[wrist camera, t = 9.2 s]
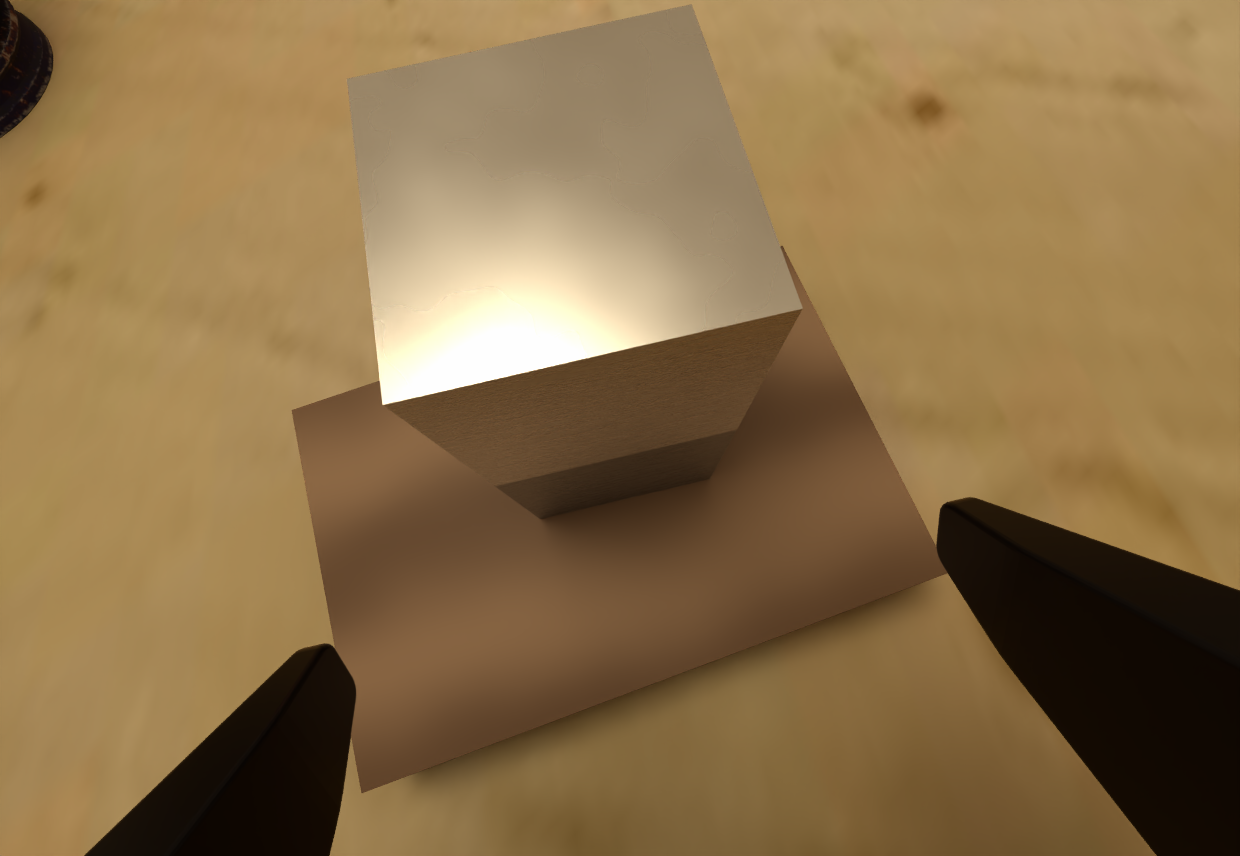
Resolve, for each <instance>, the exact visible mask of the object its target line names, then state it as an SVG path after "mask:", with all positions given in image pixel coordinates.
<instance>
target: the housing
mask: <svg viewBox="0 0 1240 856" xmlns="http://www.w3.org/2000/svg"><path fill="white" fill-rule="evenodd" d="M347 84H348V93H349V102H350V111H351V120H352V129H353V138H354V148H355V157H356V166H357V175H358V184H359V193H360V202H361V212H362V221H363V230H364V239H365V248H366V257H367V267H368V276H369V285H370V294H371V303H372V312H373V321H374V331H375V340H376V349H377V358H378V367H379V376H380V385H381V395H382V404H383V406H385V407H386V408H387V409H389V410H390V411H392V412H393V413H394V414H396V415H397V416H399V417H400V418H401V419H403V420H404V421H405V422H407V423H408V424H410V425H411V426H412V427H414V428H415V429H416V430H418V431H419V432H421V433H422V434H423V435H425V436H426V437H428V438H429V439H430V440H432V441H433V442H434V443H436V444H437V445H439V446H440V447H441V448H443V449H444V450H445V451H447V452H448V453H450V454H451V455H452V456H454V457H455V458H457V459H458V460H459V461H461V462H462V463H463V464H465V465H466V466H468V467H469V468H470V469H472V470H473V471H474V472H476V473H477V474H479V475H480V476H481V477H483V478H484V479H486V480H487V481H488V482H490V483H491V484H492V485H494V486H495V487H497V488H498V489H499V490H501V491H502V492H503V493H505V494H506V495H508V496H509V497H510V498H512V499H513V500H515V501H516V502H517V503H519V504H520V505H521V506H523V507H524V508H526V509H527V510H528V511H530V512H531V513H532V514H534V515H535V516H537V517H538V518H539V519H543V518H547V517H551V516H556V515H560V514H564V513H568V512H573V511H577V510H581V509H585V508H590V507H594V506H598V505H602V504H607V503H611V502H615V501H619V500H624V499H628V498H632V497H636V496H641V495H645V494H649V493H653V492H658V491H662V490H666V489H670V488H674V487H679V486H683V485H687V484H691V483H696V482H700V481H704V480H708V479H710V478H711V476H712V474H713V473H714V471H715V469H716V467H717V465H718V463H719V462H720V460H721V458H722V456H723V454H724V452H725V451H726V449H727V447H728V445H729V443H730V441H731V440H732V438H733V436H734V434H735V432H736V430H737V429H738V427H739V425H740V423H741V421H742V419H743V418H744V416H745V414H746V412H747V410H748V408H749V406H750V405H751V403H752V401H753V399H754V397H755V395H756V394H757V392H758V390H759V388H760V386H761V384H762V383H763V381H764V379H765V377H766V375H767V373H768V372H769V370H770V368H771V366H772V364H773V362H774V361H775V359H776V357H777V355H778V353H779V351H780V350H781V348H782V346H783V344H784V342H785V340H786V339H787V337H788V335H789V333H790V331H791V329H792V327H793V326H794V324H795V322H796V320H797V318H798V316H799V315H800V313H801V311H802V309H803V308H802V305H801V302H800V299H799V297H798V294H797V291H796V289H795V286H794V283H793V280H792V278H791V275H790V272H789V269H788V267H787V264H786V261H785V258H784V256H783V253H782V250H781V248H780V245H779V242H778V239H777V237H776V234H775V231H774V228H773V226H772V223H771V220H770V217H769V215H768V212H767V209H766V206H765V204H764V201H763V198H762V196H761V193H760V190H759V187H758V185H757V182H756V179H755V176H754V174H753V171H752V168H751V165H750V163H749V160H748V157H747V154H746V152H745V149H744V146H743V144H742V141H741V138H740V135H739V133H738V130H737V127H736V124H735V122H734V119H733V116H732V113H731V111H730V108H729V105H728V103H727V100H726V97H725V94H724V92H723V89H722V86H721V83H720V81H719V78H718V75H717V72H716V70H715V67H714V64H713V61H712V59H711V56H710V53H709V51H708V48H707V45H706V42H705V40H704V37H703V34H702V31H701V29H700V26H699V23H698V20H697V18H696V15H695V12H694V10H693V7H692V4H691V5H686V6H682V7H677V8H672V9H668V10H663V11H659V12H654V13H649V14H645V15H640V16H635V17H631V18H626V19H622V20H617V21H612V22H608V23H603V24H598V25H594V26H589V27H584V28H580V29H575V30H571V31H566V32H561V33H557V34H552V35H547V36H543V37H538V38H534V39H529V40H524V41H520V42H515V43H510V44H506V45H501V46H497V47H492V48H487V49H483V50H478V51H473V52H469V53H464V54H460V55H455V56H450V57H446V58H441V59H436V60H432V61H427V62H423V63H418V64H413V65H409V66H404V67H399V68H395V69H390V70H386V71H381V72H376V73H372V74H367V75H362V76H358V77H353V78H348V79H347Z"/></svg>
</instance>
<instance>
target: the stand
mask: <svg viewBox="0 0 1240 856" xmlns="http://www.w3.org/2000/svg"><path fill="white" fill-rule="evenodd" d="M780 248H781V250H782V253H783V256H784V258H785V261H786V264H787V267H788V269H789V272H790V275H791V278H792V280H793V283H794V286H795V289H796V291H797V294H798V297H799V299H800V302H801V305H802V308H803V309H802V311H801V313H800V315H799V316H798V318H797V320H796V322H795V324H794V326H793V327H792V329H791V331H790V333H789V335H788V337H787V339H786V340H785V342H784V344H783V346H782V348H781V350H780V351H779V353H778V355H777V357H776V359H775V361H774V362H773V364H772V366H771V368H770V370H769V372H768V373H767V375H766V377H765V379H764V381H763V383H762V384H761V386H760V388H759V390H758V392H757V394H756V395H755V397H754V399H753V401H752V403H751V405H750V406H749V408H748V410H747V412H746V414H745V416H744V418H743V419H742V421H741V423H740V425H739V427H738V429H737V430H736V432H735V434H734V436H733V438H732V440H731V441H730V443H729V445H728V447H727V449H726V451H725V452H724V454H723V456H722V458H721V460H720V462H719V463H718V465H717V467H716V469H715V471H714V473H713V474H712V476H711V478H710V479H708V480H704V481H700V482H696V483H691V484H687V485H683V486H679V487H674V488H670V489H666V490H662V491H658V492H653V493H649V494H645V495H641V496H636V497H632V498H628V499H624V500H619V501H615V502H611V503H607V504H602V505H598V506H594V507H590V508H585V509H581V510H577V511H573V512H568V513H564V514H560V515H556V516H551V517H547V518H543V519H539V518H538V517H537V516H535V515H534V514H532V513H531V512H530V511H528V510H527V509H526V508H524V507H523V506H521V505H520V504H519V503H517V502H516V501H515V500H513V499H512V498H510V497H509V496H508V495H506V494H505V493H503V492H502V491H501V490H499V489H498V488H497V487H495V486H494V485H492V484H491V483H490V482H488V481H487V480H486V479H484V478H483V477H481V476H480V475H479V474H477V473H476V472H474V471H473V470H472V469H470V468H469V467H468V466H466V465H465V464H463V463H462V462H461V461H459V460H458V459H457V458H455V457H454V456H452V455H451V454H450V453H448V452H447V451H445V450H444V449H443V448H441V447H440V446H439V445H437V444H436V443H434V442H433V441H432V440H430V439H429V438H428V437H426V436H425V435H423V434H422V433H421V432H419V431H418V430H416V429H415V428H414V427H412V426H411V425H410V424H408V423H407V422H405V421H404V420H403V419H401V418H400V417H399V416H397V415H396V414H394V413H393V412H392V411H390V410H389V409H387V408H386V407H385V406H383V404H382V395H381V385H380V381H377V382H375V383H372V384H369V385H366V386H363V387H360V388H357V389H354V390H351V391H348V392H345V393H342V394H339V395H336V396H333V397H330V398H327V399H324V400H321V401H318V402H315V403H312V404H309V405H306V406H303V407H300V408H297V409H294V410H292V414H293V420H294V425H295V431H296V436H297V442H298V447H299V453H300V458H301V464H302V469H303V475H304V480H305V486H306V491H307V496H308V502H309V507H310V513H311V518H312V524H313V529H314V535H315V540H316V546H317V551H318V557H319V562H320V568H321V573H322V579H323V584H324V590H325V595H326V601H327V606H328V612H329V617H330V623H331V628H332V634H333V639H334V645H335V649H336V651H337V653H338V654H339V656H340V658H341V659H342V661H343V662H344V664H345V666H346V667H347V669H348V671H349V672H350V674H351V675H352V677H353V679H354V682H355V685H356V703H355V710H354V717H353V725H352V732H351V738H352V743H353V749H354V754H355V760H356V765H357V771H358V776H359V782H360V787H361V793H364V792H366V791H369V790H372V789H374V788H377V787H380V786H382V785H385V784H388V783H390V782H393V781H396V780H398V779H401V778H404V777H406V776H409V775H411V774H414V773H417V772H419V771H422V770H425V769H427V768H430V767H433V766H435V765H438V764H441V763H443V762H446V761H449V760H451V759H454V758H457V757H459V756H462V755H465V754H467V753H470V752H473V751H475V750H478V749H481V748H483V747H486V746H489V745H491V744H494V743H497V742H499V741H502V740H505V739H507V738H510V737H513V736H515V735H518V734H521V733H523V732H526V731H529V730H531V729H534V728H537V727H539V726H542V725H545V724H547V723H550V722H553V721H555V720H558V719H561V718H563V717H566V716H569V715H571V714H574V713H577V712H579V711H582V710H585V709H587V708H590V707H593V706H595V705H598V704H601V703H603V702H606V701H609V700H611V699H614V698H616V697H619V696H622V695H624V694H627V693H630V692H632V691H635V690H638V689H640V688H643V687H646V686H648V685H651V684H654V683H656V682H659V681H662V680H664V679H667V678H670V677H672V676H675V675H678V674H680V673H683V672H686V671H688V670H691V669H694V668H696V667H699V666H702V665H704V664H707V663H710V662H712V661H715V660H718V659H720V658H723V657H726V656H728V655H731V654H734V653H736V652H739V651H742V650H744V649H747V648H750V647H752V646H755V645H758V644H760V643H763V642H766V641H768V640H771V639H774V638H776V637H779V636H782V635H784V634H787V633H790V632H792V631H795V630H798V629H800V628H803V627H806V626H808V625H811V624H813V623H816V622H819V621H821V620H824V619H827V618H829V617H832V616H835V615H837V614H840V613H843V612H845V611H848V610H851V609H853V608H856V607H859V606H861V605H864V604H867V603H869V602H872V601H875V600H877V599H880V598H883V597H885V596H888V595H891V594H893V593H896V592H899V591H901V590H904V589H907V588H909V587H912V586H915V585H917V584H920V583H923V582H925V581H928V580H931V579H933V578H936V577H939V576H941V575H944V574H947V571H946V570H945V568H944V566H943V565H942V563H941V561H940V559H939V557H938V553H937V548H936V546H935V544H934V542H933V540H932V538H931V536H930V534H929V532H928V530H927V528H926V526H925V524H924V522H923V520H922V518H921V516H920V514H919V512H918V510H917V508H916V506H915V504H914V503H913V501H912V499H911V497H910V495H909V493H908V491H907V489H906V487H905V485H904V483H903V481H902V479H901V477H900V475H899V473H898V471H897V469H896V467H895V465H894V463H893V461H892V459H891V457H890V456H889V454H888V452H887V450H886V448H885V446H884V444H883V442H882V440H881V438H880V436H879V434H878V432H877V430H876V428H875V426H874V424H873V422H872V420H871V418H870V416H869V414H868V412H867V411H866V409H865V407H864V405H863V403H862V401H861V399H860V397H859V395H858V393H857V391H856V389H855V387H854V385H853V383H852V381H851V379H850V377H849V375H848V373H847V371H846V369H845V367H844V366H843V364H842V362H841V360H840V358H839V356H838V354H837V352H836V350H835V348H834V346H833V344H832V342H831V340H830V338H829V336H828V334H827V332H826V330H825V328H824V326H823V324H822V322H821V320H820V319H819V317H818V315H817V313H816V311H815V309H814V307H813V305H812V303H811V301H810V299H809V297H808V295H807V293H806V291H805V289H804V287H803V285H802V283H801V281H800V279H799V277H798V275H797V274H796V272H795V270H794V268H793V266H792V264H791V262H790V260H789V258H788V256H787V254H786V252H785V250H784V248H783V246H780Z"/></svg>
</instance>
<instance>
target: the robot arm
mask: <svg viewBox="0 0 1240 856" xmlns="http://www.w3.org/2000/svg"><path fill="white" fill-rule="evenodd" d="M936 546H937V553H938V557H939V559H940V561H941V563H942V565H943V566H944V568H945V570H946V571H947V573H948V574H949V576H950V578H951V579H952V581H953V582H954V584H955V585H956V587H957V589H958V590H959V592H960V593H961V595H962V596H963V598H964V600H965V601H966V603H967V604H968V606H969V607H970V609H971V611H972V612H973V614H974V615H975V617H976V618H977V620H978V622H979V623H980V625H981V626H982V628H983V630H984V631H985V633H986V634H987V636H988V637H989V639H990V640H991V642H992V643H993V645H994V646H995V648H996V649H997V651H998V652H999V654H1000V655H1001V657H1002V658H1003V659H1004V661H1005V662H1006V663H1007V665H1008V666H1009V667H1010V669H1011V670H1012V671H1013V673H1014V674H1015V675H1016V676H1017V678H1018V679H1019V680H1020V682H1021V683H1022V684H1023V685H1024V687H1025V688H1026V689H1027V690H1028V692H1029V693H1030V694H1031V696H1032V697H1033V698H1034V699H1035V701H1036V702H1037V703H1038V705H1039V706H1040V707H1041V708H1042V710H1043V711H1044V712H1045V713H1046V715H1047V716H1048V717H1049V719H1050V720H1051V721H1052V722H1053V724H1054V725H1055V726H1056V728H1057V729H1058V730H1059V731H1060V733H1061V734H1062V735H1063V736H1064V738H1065V739H1066V740H1067V742H1068V743H1069V744H1070V745H1071V747H1072V748H1073V749H1074V751H1075V752H1076V753H1077V754H1078V756H1079V757H1080V758H1081V759H1082V761H1083V762H1084V763H1085V765H1086V766H1087V767H1088V768H1089V770H1090V771H1091V772H1092V774H1093V775H1094V776H1095V777H1096V779H1097V780H1098V781H1099V782H1100V784H1101V785H1102V786H1103V788H1104V789H1105V790H1106V791H1107V793H1108V794H1109V795H1110V797H1111V798H1112V799H1113V800H1114V802H1115V803H1116V804H1117V806H1118V807H1119V808H1120V809H1121V811H1122V812H1123V813H1124V814H1125V816H1126V817H1127V818H1128V820H1129V821H1130V822H1131V823H1132V825H1133V826H1134V827H1135V829H1136V830H1137V831H1138V832H1139V834H1140V835H1141V836H1142V837H1143V839H1144V840H1145V841H1146V843H1147V844H1148V845H1149V846H1150V848H1151V849H1152V850H1153V852H1154V853H1155V854H1156V855H1157V856H1240V590H1237V589H1234V588H1231V587H1228V586H1225V585H1223V584H1220V583H1217V582H1214V581H1211V580H1208V579H1206V578H1203V577H1200V576H1197V575H1194V574H1191V573H1188V572H1186V571H1183V570H1180V569H1177V568H1174V567H1171V566H1168V565H1166V564H1163V563H1160V562H1157V561H1154V560H1151V559H1148V558H1146V557H1143V556H1140V555H1137V554H1134V553H1131V552H1128V551H1126V550H1123V549H1120V548H1117V547H1114V546H1111V545H1108V544H1106V543H1103V542H1100V541H1097V540H1094V539H1091V538H1089V537H1086V536H1083V535H1080V534H1077V533H1074V532H1071V531H1069V530H1066V529H1063V528H1060V527H1057V526H1054V525H1051V524H1049V523H1046V522H1043V521H1040V520H1037V519H1034V518H1031V517H1029V516H1026V515H1023V514H1020V513H1017V512H1014V511H1011V510H1009V509H1006V508H1003V507H1000V506H997V505H994V504H991V503H989V502H986V501H983V500H980V499H977V498H972V497H969V498H963V499H959V500H954V501H950V502H947V503H945V504H943V506H942V507H941V509H940V515H939V525H938V534H937V544H936ZM355 703H356V685H355V682H354V679H353V677H352V675H351V674H350V672H349V671H348V669H347V667H346V666H345V664H344V662H343V661H342V659H341V658H340V656H339V654H338V653H337V651H336V649H335V648H334V647H333V646H332V645H330V644H320V645H315V646H311V647H306V648H303V649H300V650H298V651H297V652H295V653H294V654H293V655H292V656H291V657H290V658H289V659H288V660H287V661H286V662H285V663H284V664H283V665H282V666H281V667H280V668H279V669H277V670H276V671H275V672H274V673H273V674H272V675H271V676H270V677H269V678H268V679H267V680H266V681H265V682H264V683H263V684H262V685H261V686H260V687H259V688H258V689H257V690H256V691H255V692H254V693H253V694H252V695H250V696H249V697H248V698H247V699H246V700H245V701H244V702H243V703H242V704H241V705H240V706H239V707H238V708H237V709H236V710H235V711H234V712H233V713H232V714H231V715H230V716H229V717H228V718H227V719H226V720H225V721H224V722H222V723H221V724H220V725H219V726H218V727H217V728H216V729H215V730H214V731H213V732H212V733H211V734H210V735H209V736H208V737H207V738H206V739H205V740H204V741H203V742H202V743H201V744H200V745H199V746H198V747H196V748H195V749H194V750H193V751H192V752H191V753H190V754H189V755H188V756H187V757H186V758H185V759H184V760H183V761H182V762H181V763H180V764H179V765H178V766H177V767H176V768H175V769H174V770H173V771H172V772H171V773H169V774H168V775H167V776H166V777H165V778H164V779H163V780H162V781H161V782H160V783H159V784H158V785H157V786H156V787H155V788H154V789H153V790H152V791H151V792H150V793H149V794H148V795H147V796H146V797H145V798H144V799H142V800H141V801H140V802H139V803H138V804H137V805H136V806H135V807H134V808H133V809H132V810H131V811H130V812H129V813H128V814H127V815H126V816H125V817H124V818H123V819H122V820H121V821H120V822H119V823H118V824H117V825H115V826H114V827H113V828H112V829H111V830H110V831H109V832H108V833H107V834H106V835H105V836H104V837H103V838H102V839H101V840H100V841H99V842H98V843H97V844H96V845H95V846H94V847H93V848H92V849H91V850H89V851H88V852H87V853H86V854H85V855H84V856H329V855H330V851H331V847H332V843H333V838H334V834H335V830H336V826H337V821H338V817H339V812H340V807H341V801H342V795H343V789H344V782H345V775H346V768H347V761H348V753H349V746H350V739H351V732H352V725H353V717H354V710H355Z"/></svg>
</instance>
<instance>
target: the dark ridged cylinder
mask: <svg viewBox="0 0 1240 856" xmlns="http://www.w3.org/2000/svg"><path fill="white" fill-rule="evenodd" d="M52 67H53V54H52V48H51V46H50V43H49V41H48V39H47V37H46V36H45V35H44V33H43V32H42V31H41V30H40V29H39V28H38V27H37V26H36V25H35V24H34V23H33V22H32V21H31V20H29V19H28V18H27V17H26V16H24V15H23V14H22V13H20V12H18V11H16V10H14V8H13V6H12V5H11V3H10V2H9V1H8V0H0V137H2V136H3V135H4V134H6V133H7V132H8V131H10V130H11V129H12V128H14V127H15V126H16V125H17V124H18V123H19V122H20V121H21V120H22V119H23V118H25V117H26V116H27V115H28V113H29V112H30V111H31V110H32V109H33V107H34V106H35V105H36V104H37V102H38V101H39V99H40V98H41V96H42V94H43V93H44V91H45V89H46V87H47V84H48V82H49V80H50V76H51V72H52Z"/></svg>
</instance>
